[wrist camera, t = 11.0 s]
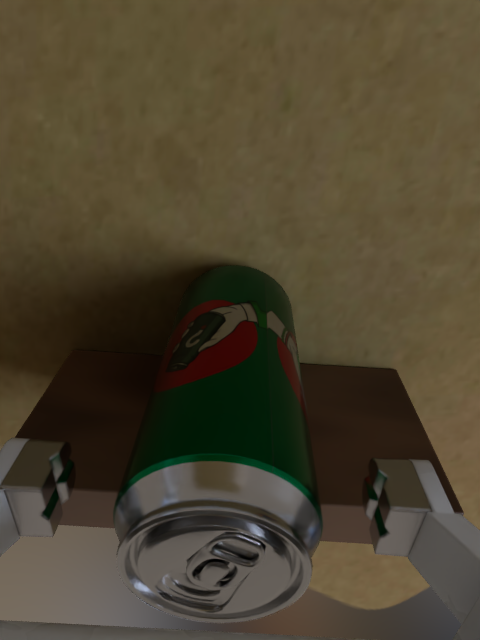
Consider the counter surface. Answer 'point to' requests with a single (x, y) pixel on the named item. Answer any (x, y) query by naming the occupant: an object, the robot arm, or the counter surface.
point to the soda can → (223, 461)
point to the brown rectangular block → (323, 418)
